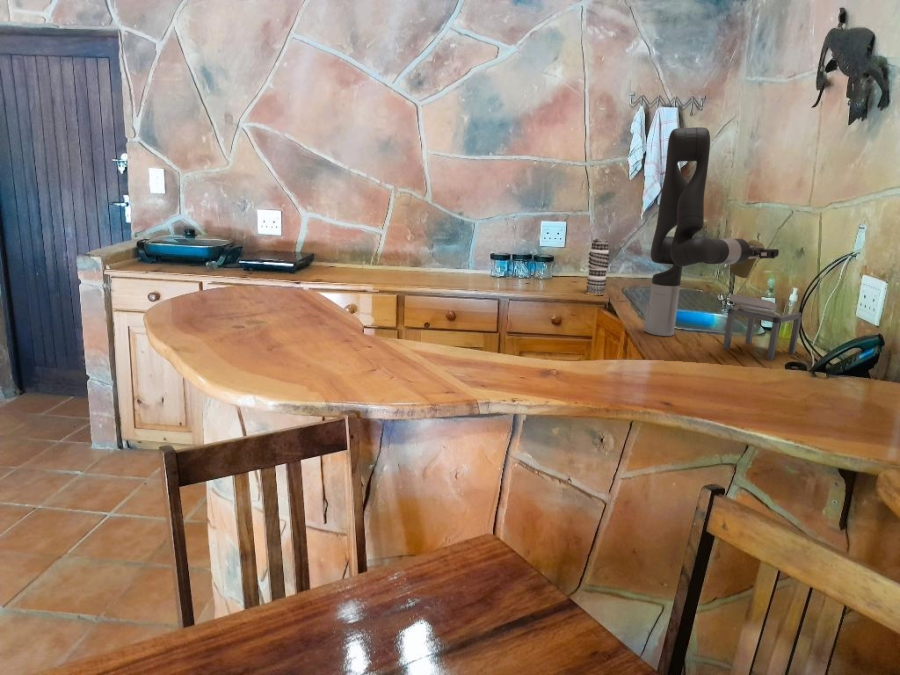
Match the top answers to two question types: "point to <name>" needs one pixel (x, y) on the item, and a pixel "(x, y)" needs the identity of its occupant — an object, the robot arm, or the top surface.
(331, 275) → the top surface
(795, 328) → the grey miniature table
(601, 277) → the striped stacked cylinder
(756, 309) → the trapdoor
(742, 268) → the cork
